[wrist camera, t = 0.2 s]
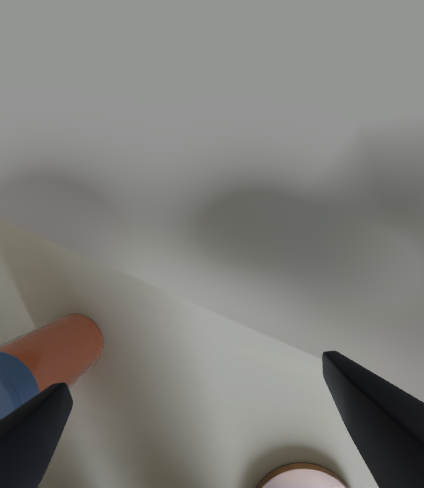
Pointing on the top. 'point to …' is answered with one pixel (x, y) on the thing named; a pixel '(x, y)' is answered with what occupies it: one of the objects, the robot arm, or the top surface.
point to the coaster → (301, 477)
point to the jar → (58, 350)
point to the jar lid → (15, 384)
